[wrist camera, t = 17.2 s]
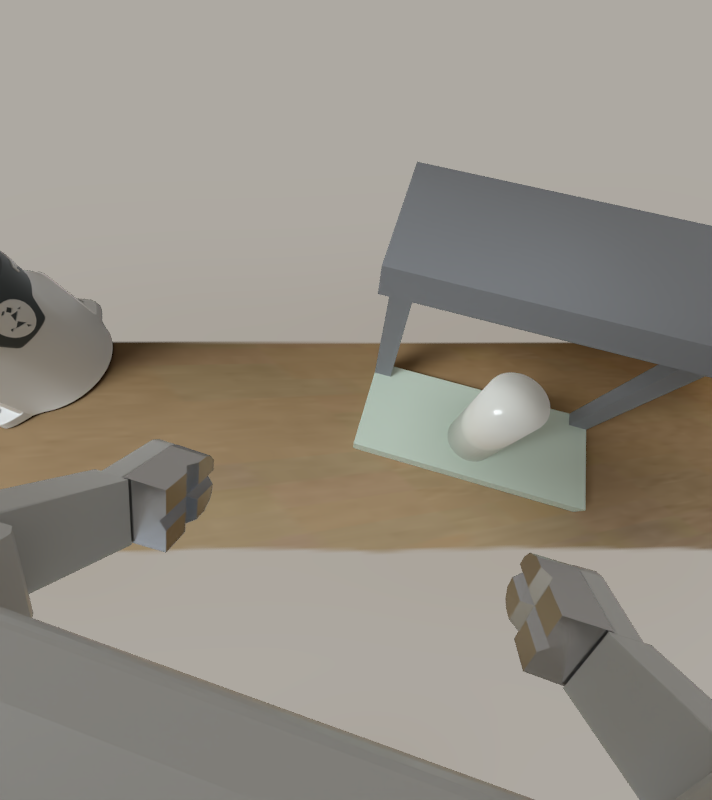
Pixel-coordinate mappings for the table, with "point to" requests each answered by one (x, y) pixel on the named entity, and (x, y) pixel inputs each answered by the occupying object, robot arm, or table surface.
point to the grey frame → (535, 316)
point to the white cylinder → (499, 417)
